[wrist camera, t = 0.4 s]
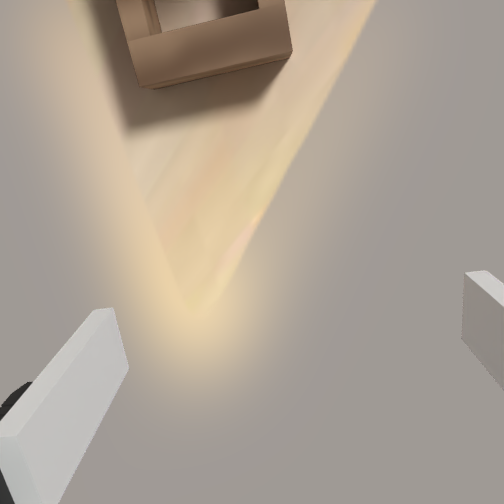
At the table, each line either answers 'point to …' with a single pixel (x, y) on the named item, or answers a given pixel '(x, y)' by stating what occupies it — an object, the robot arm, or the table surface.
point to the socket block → (202, 43)
